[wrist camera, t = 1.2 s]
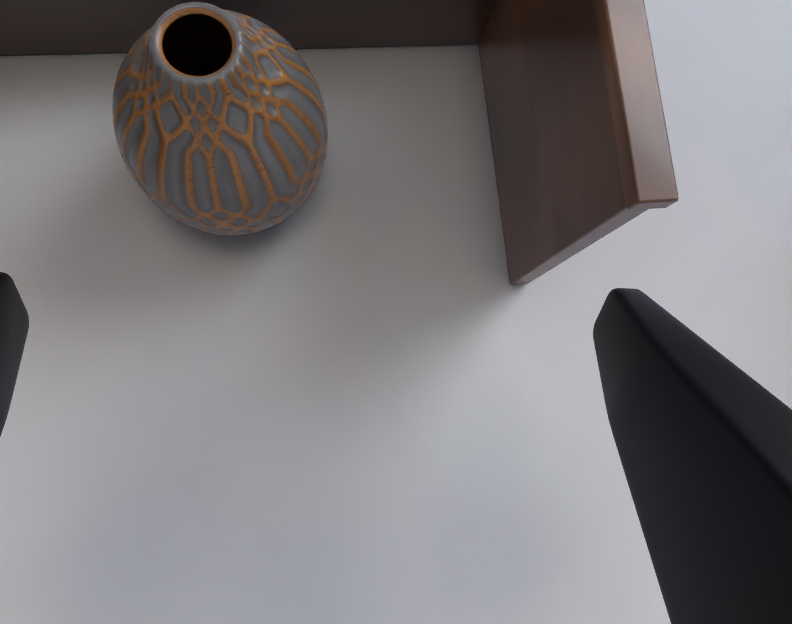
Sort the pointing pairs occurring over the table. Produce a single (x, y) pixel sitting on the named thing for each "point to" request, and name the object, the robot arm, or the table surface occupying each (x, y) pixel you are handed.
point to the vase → (219, 120)
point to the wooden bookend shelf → (504, 88)
